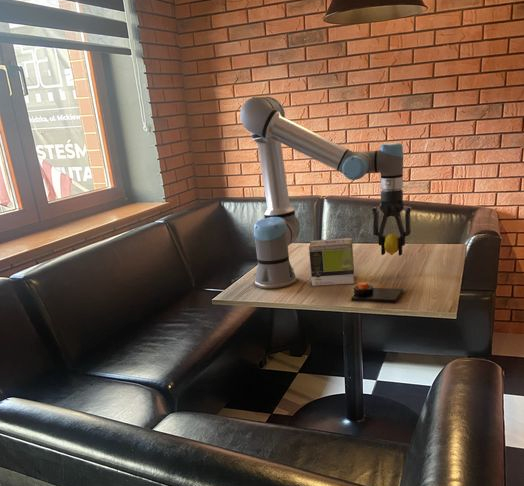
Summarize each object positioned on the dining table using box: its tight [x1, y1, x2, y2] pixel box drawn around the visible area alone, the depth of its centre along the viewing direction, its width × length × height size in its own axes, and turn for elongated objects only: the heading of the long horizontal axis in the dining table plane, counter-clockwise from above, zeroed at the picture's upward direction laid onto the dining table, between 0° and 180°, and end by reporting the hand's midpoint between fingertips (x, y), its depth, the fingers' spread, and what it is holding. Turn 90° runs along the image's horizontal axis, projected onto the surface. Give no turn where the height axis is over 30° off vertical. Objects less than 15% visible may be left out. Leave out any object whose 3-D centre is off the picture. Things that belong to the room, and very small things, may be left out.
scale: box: [351, 284, 404, 304], centre depth 173 cm, size 14×11×3 cm
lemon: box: [384, 232, 399, 256], centre depth 194 cm, size 6×6×8 cm
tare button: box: [357, 281, 369, 289], centre depth 174 cm, size 3×3×2 cm
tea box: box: [308, 237, 355, 287], centre depth 191 cm, size 15×10×15 cm
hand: (391, 254), depth 195 cm, fingers closed on lemon, 5 cm apart
